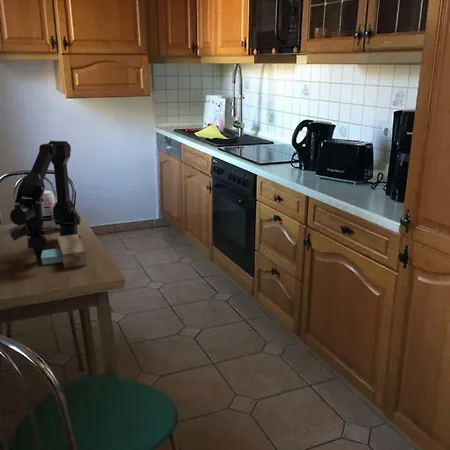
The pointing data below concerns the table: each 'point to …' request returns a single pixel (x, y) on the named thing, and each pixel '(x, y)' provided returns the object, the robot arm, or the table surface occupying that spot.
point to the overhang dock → (72, 251)
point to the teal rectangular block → (51, 256)
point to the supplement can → (48, 208)
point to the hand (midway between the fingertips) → (38, 258)
